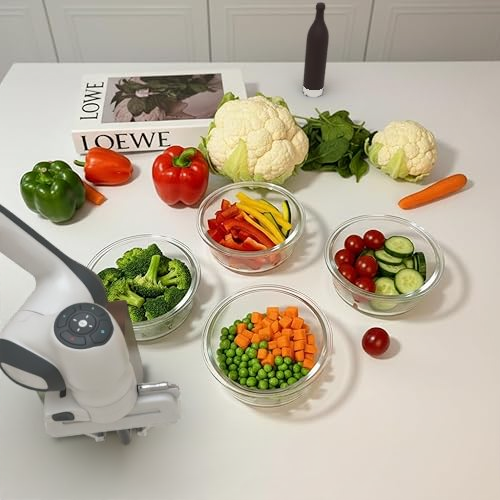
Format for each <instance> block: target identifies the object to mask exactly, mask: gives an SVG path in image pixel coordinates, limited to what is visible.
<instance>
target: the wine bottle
mask: <svg viewBox="0 0 500 500" xmlns="http://www.w3.org/2000/svg"><path fill="white" fill-rule="evenodd" d="M325 10H326V3H324V2H316V4H315V17H314V20H313V21H312V23H311V25H310V27H309V29H308V31H307V34H306V42H305V52H304V53H305V55H304V68H303V78H302V79H303V80H302V81H303V82H302V87H303V86H304V87H305V88H306V89H309V90H320V89H322V88H323V87H325V79H326V68H327V60H328V59H327V58H328V50H329V42H330V41H329V38H330V37H329V36H330V33H329V29H328V27H327V24H326V21H325Z"/></svg>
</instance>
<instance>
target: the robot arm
mask: <svg viewBox="0 0 500 500" xmlns="http://www.w3.org/2000/svg"><path fill="white" fill-rule="evenodd" d="M0 253H1V254H2V255H3V256H5V257H6V258H7V259H9V260H11V262H13V263H15V264H16V265H17V266H18V267H20V268H21V269H23V270H25V271H26V272H27V273H28V274H30V275H31V276H32V277H33V279H34V280H35V287H34V290H33V291H32V292H31V293H30V295H29V296H28V297H27V298H26V300H25V301H24V302H23V304H22V305H21V306H20V307H19V309H18V310H17V311H16V312H14V314H13V315H12V317H11V318H10V319H9V320H8V321H7V323H6V324H5V325H4V327H3V328H2V329H1V331H0V370H1V372H2V373H3V374H4V375H5V376H6V377H7V378H8V379H9V380H10V381H11V382H13V383H14V384H16V385H18V386H20V387H22V388H24V389H27V390H30V391H34V392H36V391H41V392H46V393H45V399H44V405H43V419H44V420H43V426H44V429H45V432H46V434H47V435H48V436H49V437H52V438H63V437H64V438H65V437H72V436H81V435H84V436H85V435H86V436H88V437H90V438H93V439H94V440H95V442H96V443H97V442H105V441H106V439H107V437H106V436H107V432H112V431H116V430H122V429H130V428H132V429H136V435H137V437H146V436H148V430H150V428H151V427H153V426H161V425H162V426H163V425H170V424H171V425H172V424H176V423H178V422H179V421H180V420H181V419H182V405H181V399H180V395H181V389H180V386H179V384H176V383H175V384H174V383H171V382H169V381H165V380H160V381H149V382H144V383H140V384H137V381H136V378H135V374H134V371H133V367H132V365H131V363H130V361H129V352H128V348H127V345H126V342H125V339H124V336H123V333H122V331H121V329H120V327H119V325H118V324H117V322H116V320H115V319H114V318H113V316H112V315H111V314H110V313H109V312H108V311H107V310H106V308H107V304H108V302H109V301H108V293H107V290H106V287H105V284H104V282H103V280H102V278H101V277H100V276H99V275H98V274H97V273H96V272H95V271H94V270H92V269H91V268H89V267H87V266H85V265H84V264H83V263H80V262H79V261H77V260H75V259H73V258H71V256H68V255H67V254H66V253H64V252H63V251H62V250H60V249H59V248H58V247H57V246H55V244H53V243H52V242H51V241H50V240H48V239H46V238H45V237H44V236H43V235H41V234H40V233H39V232H38V231H36V230H35V229H34V228H33V227H31V226H30V225H29V224H28V223H26V222H25V221H24V220H22V219H21V218H20V217H18V215H16V214H15V213H14V212H12V211H10V210H9V209H8V208H6V207H5V206H4V205H2V204H1V203H0Z"/></svg>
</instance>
